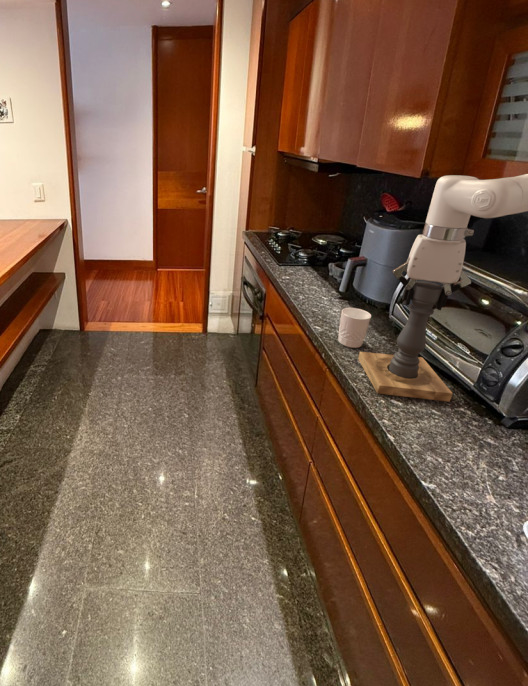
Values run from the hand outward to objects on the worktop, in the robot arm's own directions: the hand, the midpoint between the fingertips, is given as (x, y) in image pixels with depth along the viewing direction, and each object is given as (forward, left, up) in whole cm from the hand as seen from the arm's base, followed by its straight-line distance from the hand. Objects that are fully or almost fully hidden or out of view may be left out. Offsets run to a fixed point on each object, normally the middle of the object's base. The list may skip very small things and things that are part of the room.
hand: (422, 304), depth 94 cm
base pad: (0, 0, -22) cm, 22 cm away
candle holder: (0, 0, -20) cm, 20 cm away
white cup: (+12, -15, -22) cm, 29 cm away
